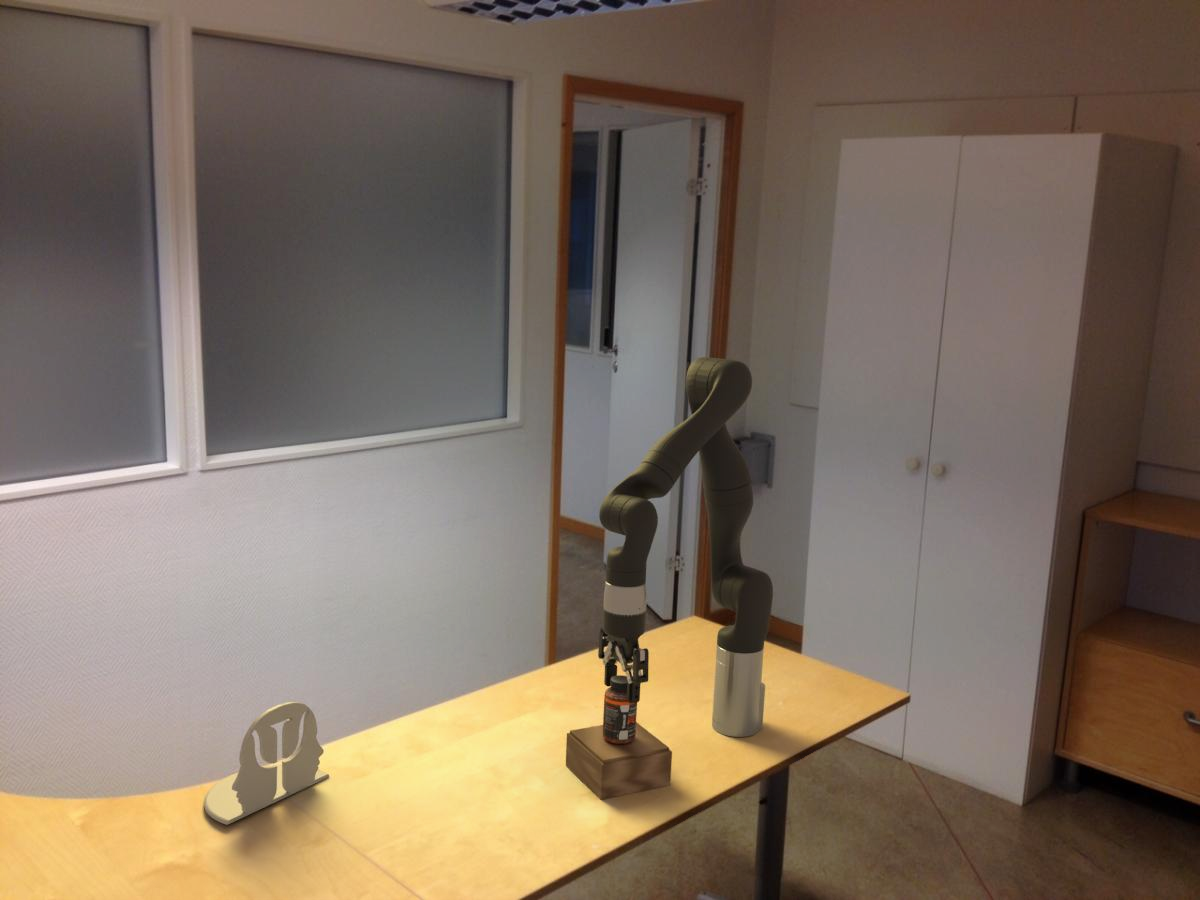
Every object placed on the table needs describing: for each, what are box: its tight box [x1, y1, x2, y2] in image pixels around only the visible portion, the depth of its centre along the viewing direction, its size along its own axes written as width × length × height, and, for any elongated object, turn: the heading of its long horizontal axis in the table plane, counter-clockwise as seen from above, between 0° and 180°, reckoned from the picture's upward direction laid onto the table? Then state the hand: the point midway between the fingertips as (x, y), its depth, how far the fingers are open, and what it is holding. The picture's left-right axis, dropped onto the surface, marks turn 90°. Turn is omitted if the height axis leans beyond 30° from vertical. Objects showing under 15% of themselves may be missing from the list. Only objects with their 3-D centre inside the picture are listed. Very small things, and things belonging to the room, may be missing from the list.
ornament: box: [203, 701, 330, 825], centre depth 189 cm, size 22×13×17 cm, turn 146°
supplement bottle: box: [602, 674, 638, 744], centre depth 199 cm, size 6×6×11 cm
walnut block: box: [565, 721, 673, 801], centre depth 200 cm, size 14×14×7 cm
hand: (621, 693), depth 198 cm, fingers open, 8 cm apart
